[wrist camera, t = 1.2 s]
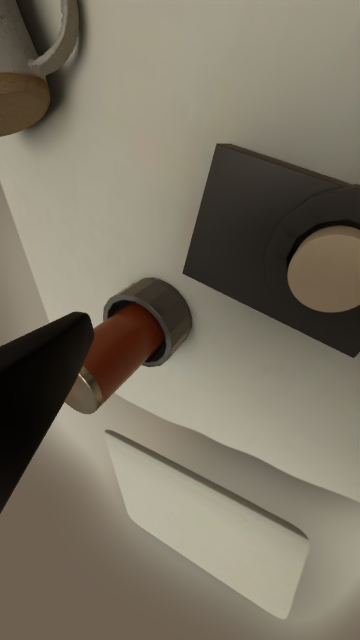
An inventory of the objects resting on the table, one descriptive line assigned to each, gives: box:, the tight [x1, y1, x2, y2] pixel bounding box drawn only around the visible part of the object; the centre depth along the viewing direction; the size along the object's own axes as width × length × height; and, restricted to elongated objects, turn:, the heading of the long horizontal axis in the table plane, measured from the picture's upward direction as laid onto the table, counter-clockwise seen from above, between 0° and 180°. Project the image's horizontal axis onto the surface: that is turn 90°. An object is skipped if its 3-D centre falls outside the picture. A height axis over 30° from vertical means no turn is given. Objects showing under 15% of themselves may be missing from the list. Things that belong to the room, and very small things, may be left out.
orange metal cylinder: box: [65, 301, 166, 414], centre depth 21 cm, size 4×4×10 cm
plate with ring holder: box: [183, 144, 360, 358], centre depth 15 cm, size 12×8×4 cm
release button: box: [287, 226, 360, 312], centre depth 13 cm, size 4×4×2 cm
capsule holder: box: [103, 278, 192, 367], centre depth 24 cm, size 7×7×4 cm
